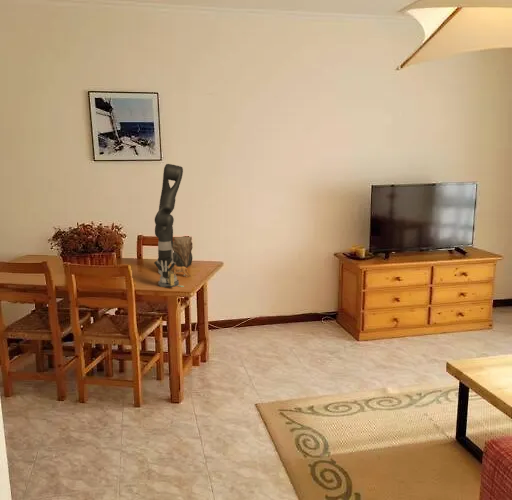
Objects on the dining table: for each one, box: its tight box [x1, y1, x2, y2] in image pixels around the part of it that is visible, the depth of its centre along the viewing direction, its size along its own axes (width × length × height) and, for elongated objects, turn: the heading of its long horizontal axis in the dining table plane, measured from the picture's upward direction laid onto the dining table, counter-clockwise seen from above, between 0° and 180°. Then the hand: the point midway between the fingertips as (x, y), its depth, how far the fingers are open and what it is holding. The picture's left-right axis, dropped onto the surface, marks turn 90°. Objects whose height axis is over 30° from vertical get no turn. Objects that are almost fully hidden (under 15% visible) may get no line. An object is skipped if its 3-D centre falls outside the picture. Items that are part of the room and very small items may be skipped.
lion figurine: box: [168, 263, 191, 278], centre depth 313 cm, size 15×5×9 cm, turn 89°
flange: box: [157, 277, 180, 288], centre depth 295 cm, size 12×12×6 cm
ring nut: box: [159, 271, 178, 286], centre depth 292 cm, size 16×10×7 cm, turn 22°
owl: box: [173, 235, 193, 269], centre depth 342 cm, size 13×13×20 cm
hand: (165, 277), depth 287 cm, fingers closed
